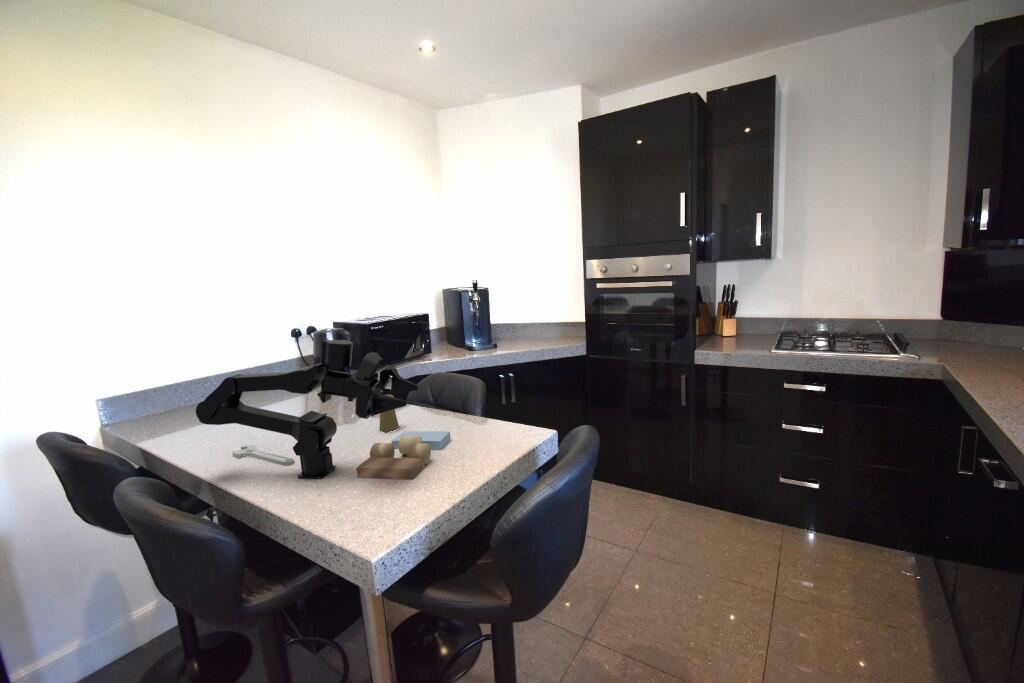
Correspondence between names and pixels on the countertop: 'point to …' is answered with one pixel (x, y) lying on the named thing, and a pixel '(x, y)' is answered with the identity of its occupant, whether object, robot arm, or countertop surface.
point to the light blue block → (421, 439)
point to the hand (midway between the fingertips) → (412, 395)
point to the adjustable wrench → (262, 455)
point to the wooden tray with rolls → (394, 462)
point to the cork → (388, 420)
